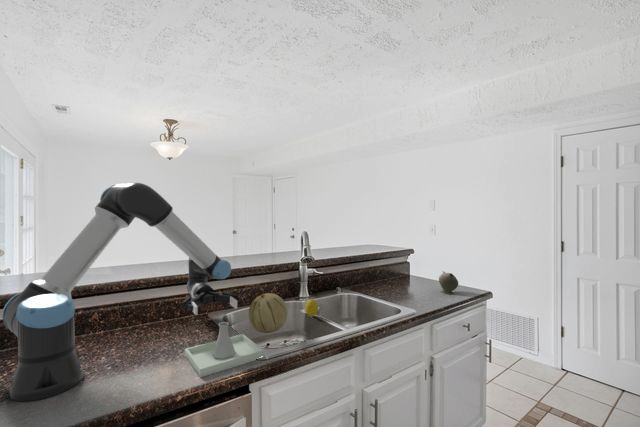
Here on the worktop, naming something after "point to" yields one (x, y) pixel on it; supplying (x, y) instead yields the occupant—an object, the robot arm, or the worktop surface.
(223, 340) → the flask
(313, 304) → the lemon
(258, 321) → the cantaloupe
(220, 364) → the tray
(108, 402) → the worktop surface
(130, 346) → the worktop surface
